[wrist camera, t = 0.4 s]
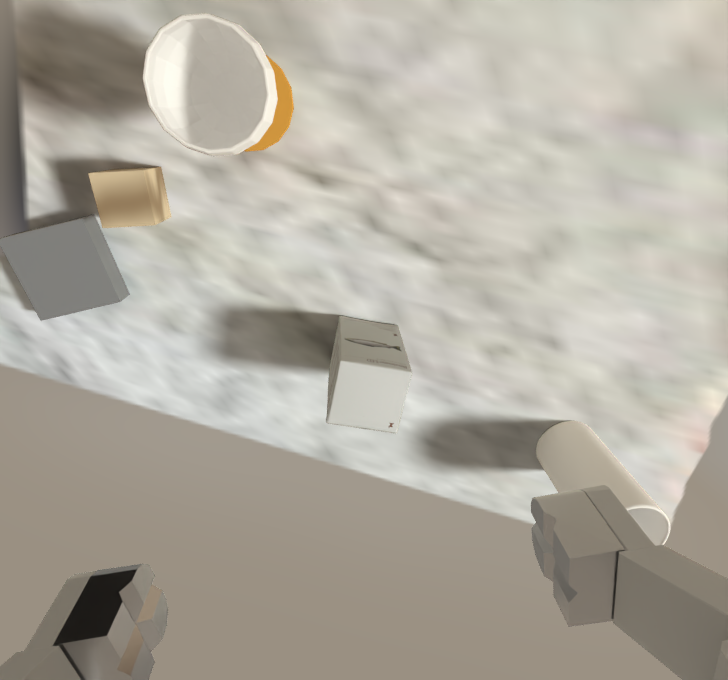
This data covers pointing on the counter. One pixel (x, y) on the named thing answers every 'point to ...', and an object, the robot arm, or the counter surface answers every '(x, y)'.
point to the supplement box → (367, 376)
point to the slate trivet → (65, 267)
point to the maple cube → (130, 197)
